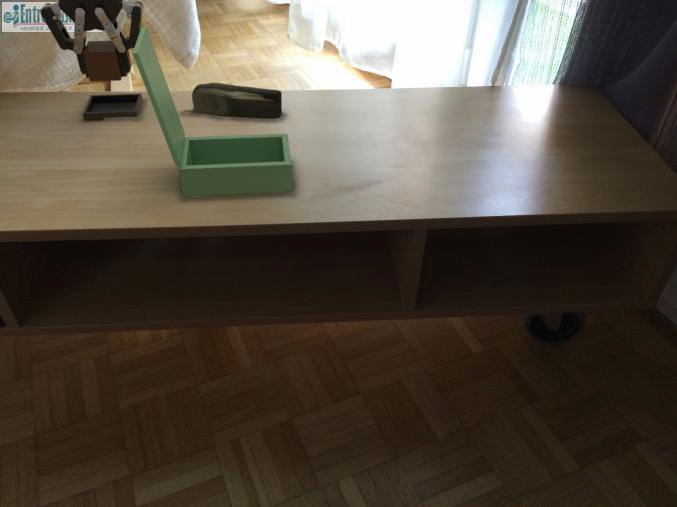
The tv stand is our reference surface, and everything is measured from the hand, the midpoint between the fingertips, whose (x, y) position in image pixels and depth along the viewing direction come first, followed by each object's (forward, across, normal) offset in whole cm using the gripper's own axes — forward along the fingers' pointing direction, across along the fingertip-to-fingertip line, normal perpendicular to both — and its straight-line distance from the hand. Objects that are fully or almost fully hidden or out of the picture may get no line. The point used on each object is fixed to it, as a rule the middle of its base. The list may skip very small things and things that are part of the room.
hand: (107, 74), depth 91 cm
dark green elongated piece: (+6, -18, +3) cm, 19 cm away
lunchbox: (+6, -19, +22) cm, 30 cm away
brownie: (0, 0, 0) cm, 0 cm away
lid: (-6, -11, +22) cm, 25 cm away
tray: (+6, 0, 0) cm, 6 cm away
